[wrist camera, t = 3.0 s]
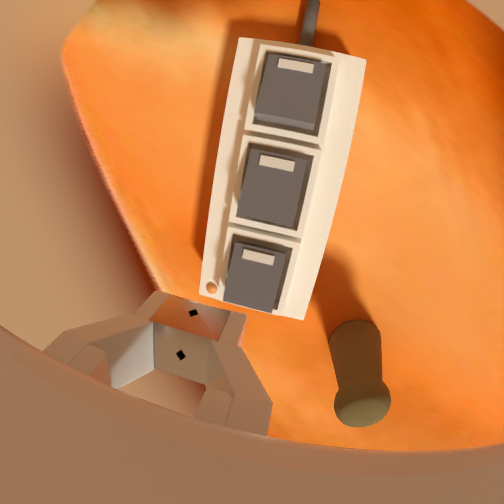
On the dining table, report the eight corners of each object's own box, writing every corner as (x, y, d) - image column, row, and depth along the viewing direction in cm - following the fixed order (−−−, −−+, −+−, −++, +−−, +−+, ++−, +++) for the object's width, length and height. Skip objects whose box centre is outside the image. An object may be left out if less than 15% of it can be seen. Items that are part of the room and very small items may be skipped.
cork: (350, 369, 34) (355, 443, 23) (317, 341, 33) (314, 417, 23) (390, 341, 31) (409, 413, 21) (359, 309, 31) (373, 383, 20)
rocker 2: (306, 164, 22) (307, 159, 20) (292, 226, 23) (292, 227, 21) (254, 153, 22) (250, 148, 21) (240, 214, 23) (236, 214, 21)
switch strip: (367, 16, 20) (377, -8, 15) (304, 299, 31) (302, 329, 26) (260, -3, 21) (248, -28, 16) (211, 276, 32) (193, 302, 27)
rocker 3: (286, 252, 25) (286, 254, 23) (273, 307, 25) (271, 313, 24) (238, 240, 25) (234, 242, 23) (227, 295, 26) (222, 301, 24)
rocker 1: (324, 73, 19) (326, 62, 17) (313, 130, 20) (315, 123, 18) (271, 63, 20) (269, 52, 18) (257, 119, 20) (254, 111, 19)
